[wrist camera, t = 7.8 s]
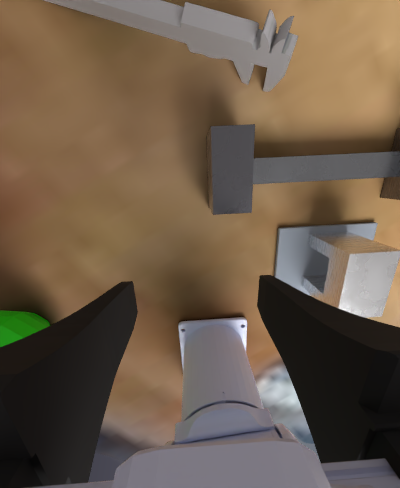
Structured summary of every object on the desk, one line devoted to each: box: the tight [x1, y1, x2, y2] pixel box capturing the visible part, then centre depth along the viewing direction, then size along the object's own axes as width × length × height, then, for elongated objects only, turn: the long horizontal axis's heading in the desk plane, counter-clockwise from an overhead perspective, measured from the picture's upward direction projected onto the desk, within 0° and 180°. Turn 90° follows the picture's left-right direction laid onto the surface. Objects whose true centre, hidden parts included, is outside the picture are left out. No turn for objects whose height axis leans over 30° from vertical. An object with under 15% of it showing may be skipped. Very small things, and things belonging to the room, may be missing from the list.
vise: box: [206, 124, 400, 215], centre depth 17 cm, size 6×20×4 cm, turn 93°
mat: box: [274, 222, 378, 295], centre depth 21 cm, size 8×10×1 cm
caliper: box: [44, 0, 298, 92], centre depth 12 cm, size 20×1×6 cm, turn 73°
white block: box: [302, 232, 400, 318], centre depth 19 cm, size 6×4×6 cm, turn 3°
